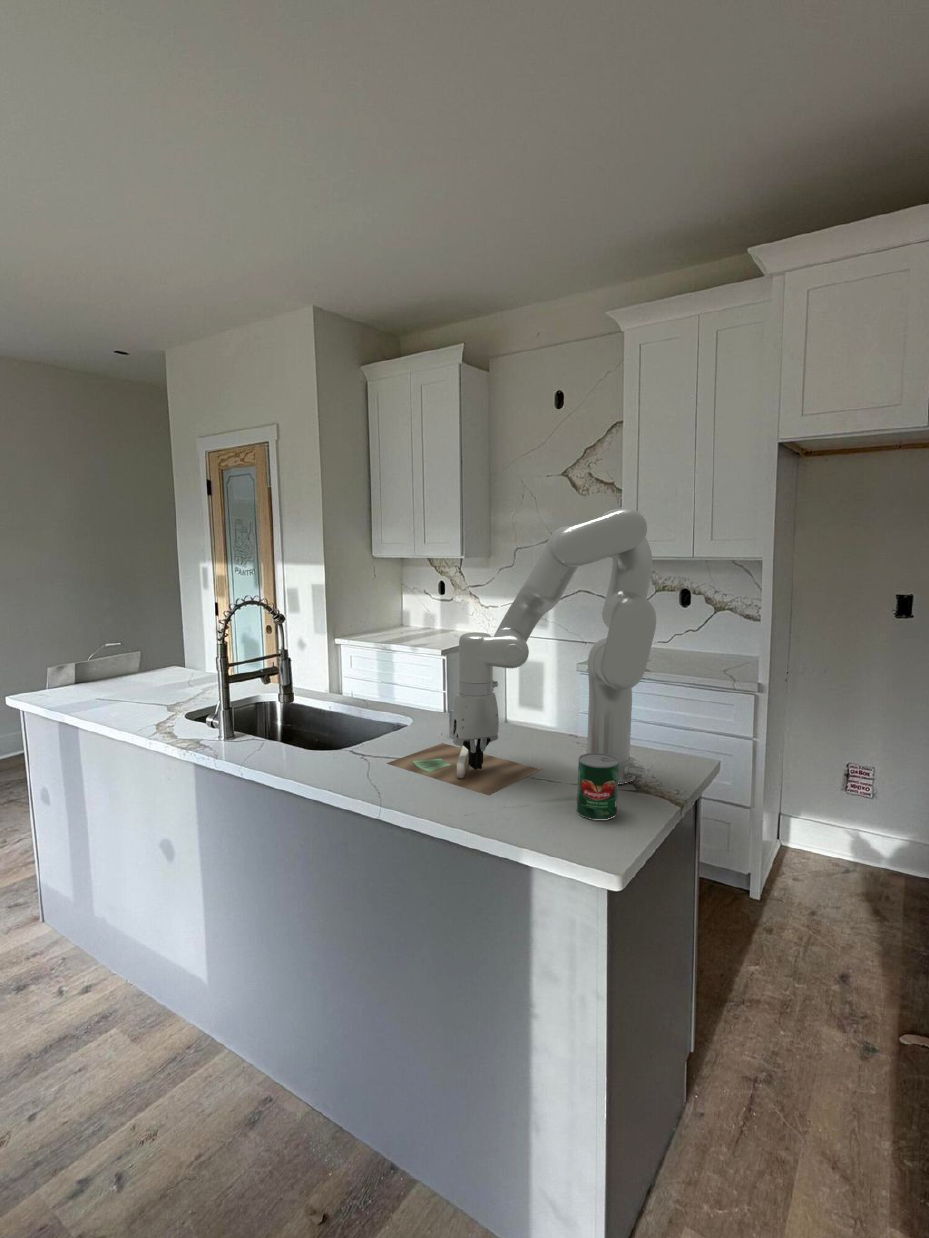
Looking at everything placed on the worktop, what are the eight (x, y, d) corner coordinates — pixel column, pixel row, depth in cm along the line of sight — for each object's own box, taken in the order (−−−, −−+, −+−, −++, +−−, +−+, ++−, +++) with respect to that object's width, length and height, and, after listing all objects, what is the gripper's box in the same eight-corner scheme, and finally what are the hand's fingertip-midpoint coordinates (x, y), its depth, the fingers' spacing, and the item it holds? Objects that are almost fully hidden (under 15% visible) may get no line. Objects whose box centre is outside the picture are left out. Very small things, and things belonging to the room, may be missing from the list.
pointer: (460, 753, 166) (460, 740, 166) (473, 754, 166) (474, 740, 166) (452, 777, 151) (452, 762, 150) (467, 778, 150) (467, 763, 150)
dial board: (541, 774, 158) (541, 768, 157) (488, 800, 142) (489, 794, 142) (442, 747, 176) (442, 742, 176) (386, 768, 161) (386, 762, 161)
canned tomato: (587, 823, 132) (588, 767, 130) (570, 806, 139) (571, 754, 138) (624, 818, 134) (626, 764, 132) (605, 803, 141) (607, 751, 140)
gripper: (498, 681, 160) (497, 758, 162) (438, 687, 154) (438, 766, 156) (513, 688, 153) (512, 768, 156) (451, 695, 147) (451, 777, 149)
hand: (475, 767), depth 156 cm, fingers closed
